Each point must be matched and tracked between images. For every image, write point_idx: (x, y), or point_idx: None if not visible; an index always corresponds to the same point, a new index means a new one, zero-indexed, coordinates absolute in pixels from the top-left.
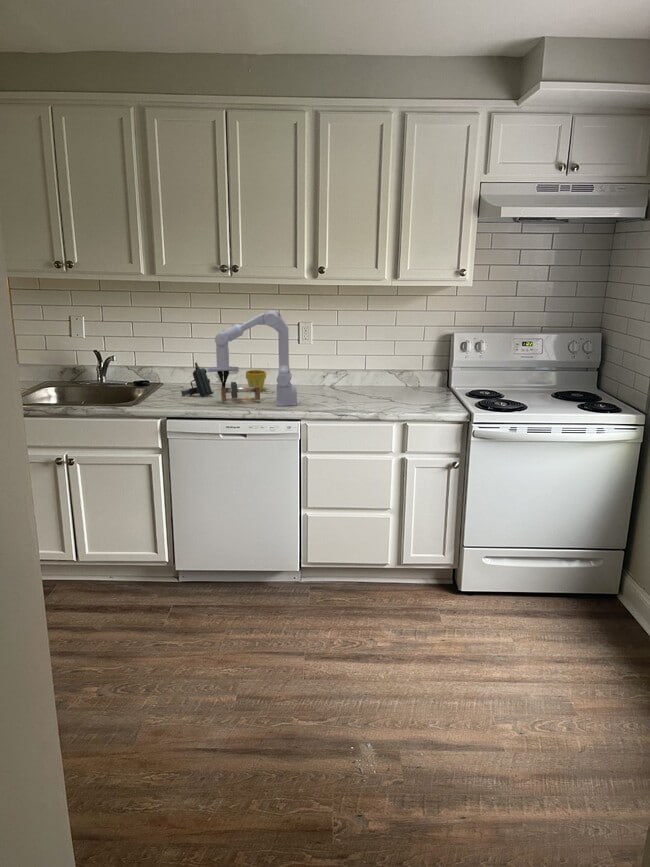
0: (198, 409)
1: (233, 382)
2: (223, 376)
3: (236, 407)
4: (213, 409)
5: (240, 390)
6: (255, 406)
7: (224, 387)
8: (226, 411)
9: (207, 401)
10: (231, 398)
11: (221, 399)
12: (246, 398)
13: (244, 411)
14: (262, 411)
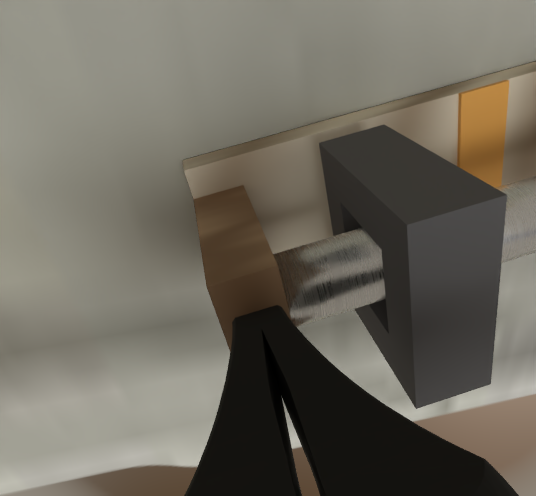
0: (59, 450)
1: (453, 253)
2: (304, 432)
3: (360, 343)
4: (186, 423)
5: None
6: (507, 290)
7: (268, 298)
8: (294, 439)
9: (8, 192)
10: (308, 141)
11: (191, 191)
12: (479, 142)
13: (414, 412)
14: (525, 387)
